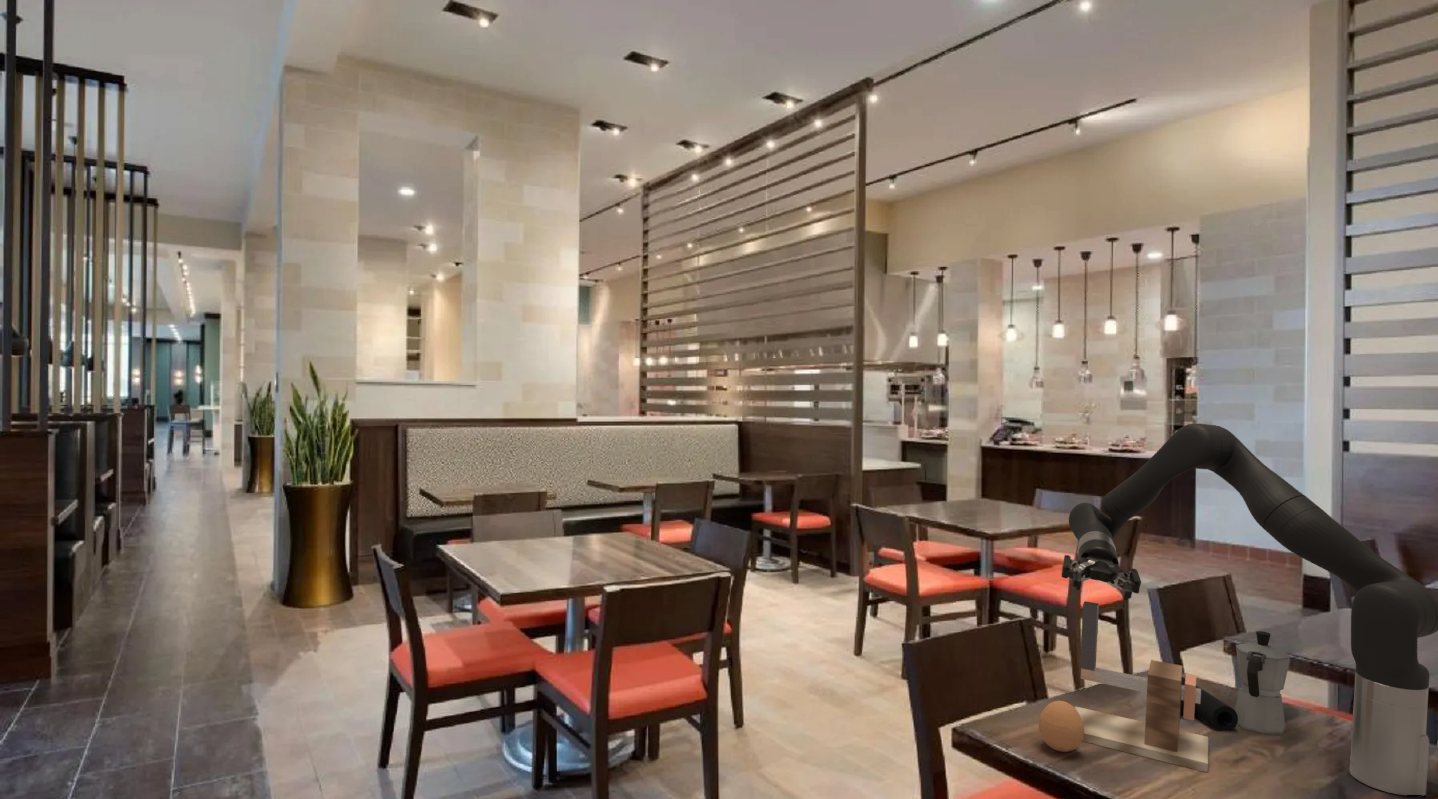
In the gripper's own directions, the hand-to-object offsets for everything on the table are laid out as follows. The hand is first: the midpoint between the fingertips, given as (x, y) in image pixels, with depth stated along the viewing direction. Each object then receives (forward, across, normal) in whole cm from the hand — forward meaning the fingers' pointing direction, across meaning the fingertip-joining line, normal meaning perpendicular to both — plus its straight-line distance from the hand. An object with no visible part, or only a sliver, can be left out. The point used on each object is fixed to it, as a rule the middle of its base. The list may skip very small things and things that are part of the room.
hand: (1102, 590), depth 154 cm
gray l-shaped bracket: (+13, +7, +11) cm, 19 cm away
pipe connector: (-2, +19, +24) cm, 30 cm away
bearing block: (+16, +8, +20) cm, 27 cm away
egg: (+25, -5, +20) cm, 32 cm away
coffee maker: (-1, +31, +22) cm, 38 cm away
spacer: (+15, +15, +12) cm, 25 cm away
